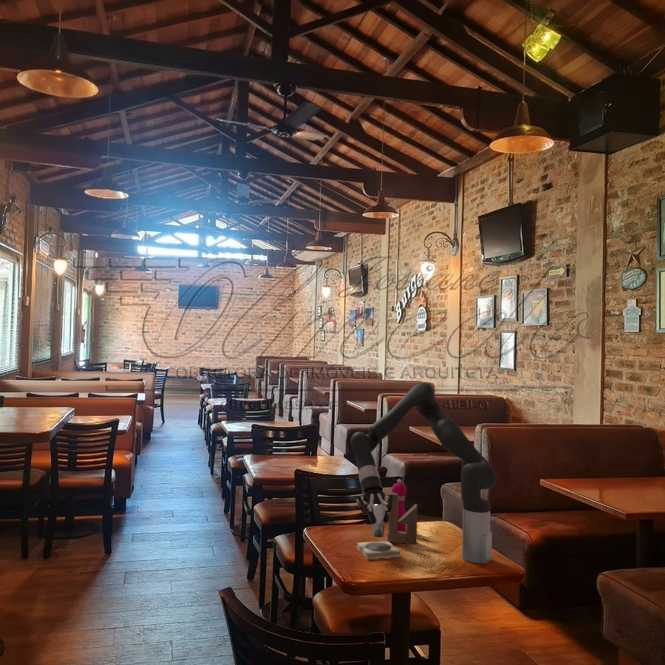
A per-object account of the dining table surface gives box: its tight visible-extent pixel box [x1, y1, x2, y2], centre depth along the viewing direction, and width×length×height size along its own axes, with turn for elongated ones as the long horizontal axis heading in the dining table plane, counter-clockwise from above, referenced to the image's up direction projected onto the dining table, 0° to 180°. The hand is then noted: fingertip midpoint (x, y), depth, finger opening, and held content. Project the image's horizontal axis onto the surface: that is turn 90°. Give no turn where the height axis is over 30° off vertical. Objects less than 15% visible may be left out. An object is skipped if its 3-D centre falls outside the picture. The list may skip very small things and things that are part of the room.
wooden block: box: [386, 492, 418, 545], centre depth 223 cm, size 4×11×18 cm, turn 89°
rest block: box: [356, 540, 401, 561], centre depth 210 cm, size 12×12×2 cm
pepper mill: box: [391, 478, 408, 532], centre depth 239 cm, size 7×7×20 cm
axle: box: [371, 503, 386, 538], centre depth 211 cm, size 4×4×11 cm
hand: (380, 522), depth 209 cm, fingers closed on axle, 4 cm apart
